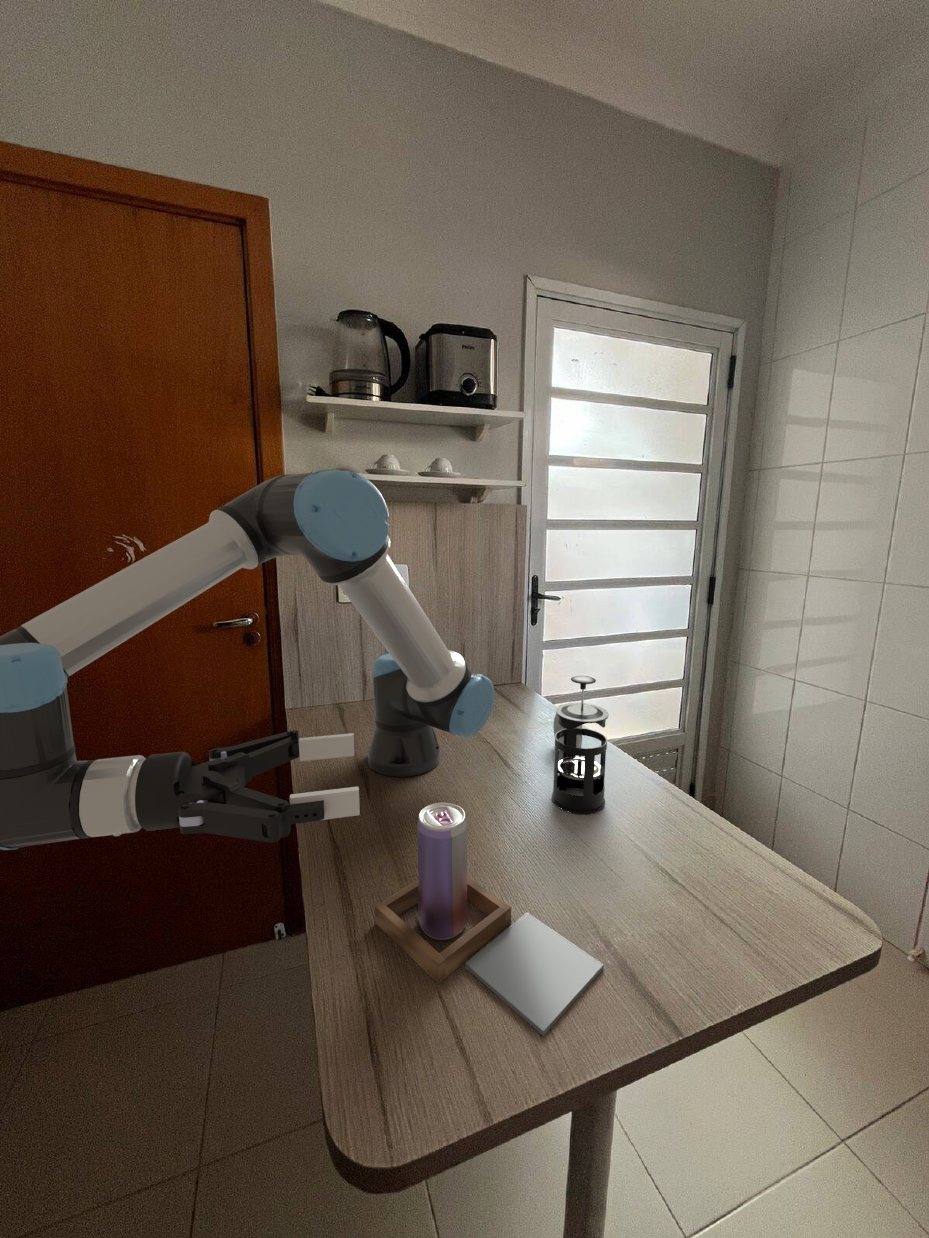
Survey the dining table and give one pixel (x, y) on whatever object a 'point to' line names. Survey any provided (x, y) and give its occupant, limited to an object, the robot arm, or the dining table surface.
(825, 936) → the dining table surface
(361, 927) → the dining table surface
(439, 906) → the beverage can
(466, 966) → the slate coaster
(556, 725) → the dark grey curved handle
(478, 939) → the walnut holder
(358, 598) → the robot arm
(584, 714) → the french press
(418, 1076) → the dining table surface
